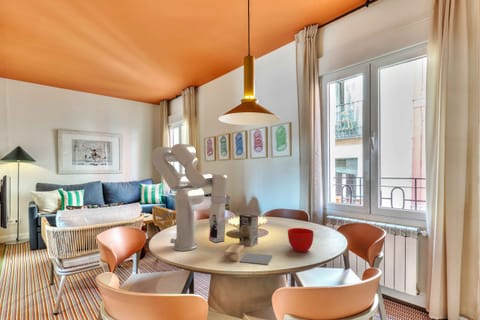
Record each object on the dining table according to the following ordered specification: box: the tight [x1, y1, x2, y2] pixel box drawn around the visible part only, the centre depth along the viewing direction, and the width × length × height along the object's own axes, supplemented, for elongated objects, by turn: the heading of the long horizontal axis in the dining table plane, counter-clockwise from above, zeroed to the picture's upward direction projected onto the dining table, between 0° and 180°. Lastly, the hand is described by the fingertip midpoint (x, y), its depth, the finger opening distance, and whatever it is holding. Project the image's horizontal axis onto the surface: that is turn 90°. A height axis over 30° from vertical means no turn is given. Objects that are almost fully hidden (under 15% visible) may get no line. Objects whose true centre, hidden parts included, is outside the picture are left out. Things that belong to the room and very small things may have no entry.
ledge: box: [224, 244, 245, 262], centre depth 124 cm, size 6×11×4 cm, turn 164°
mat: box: [239, 252, 273, 266], centre depth 121 cm, size 13×12×1 cm
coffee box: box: [238, 213, 259, 247], centre depth 146 cm, size 9×6×16 cm
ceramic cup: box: [287, 227, 315, 253], centre depth 135 cm, size 13×17×10 cm
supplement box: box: [208, 217, 227, 244], centre depth 127 cm, size 6×6×12 cm
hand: (217, 234), depth 127 cm, fingers closed on supplement box, 8 cm apart
